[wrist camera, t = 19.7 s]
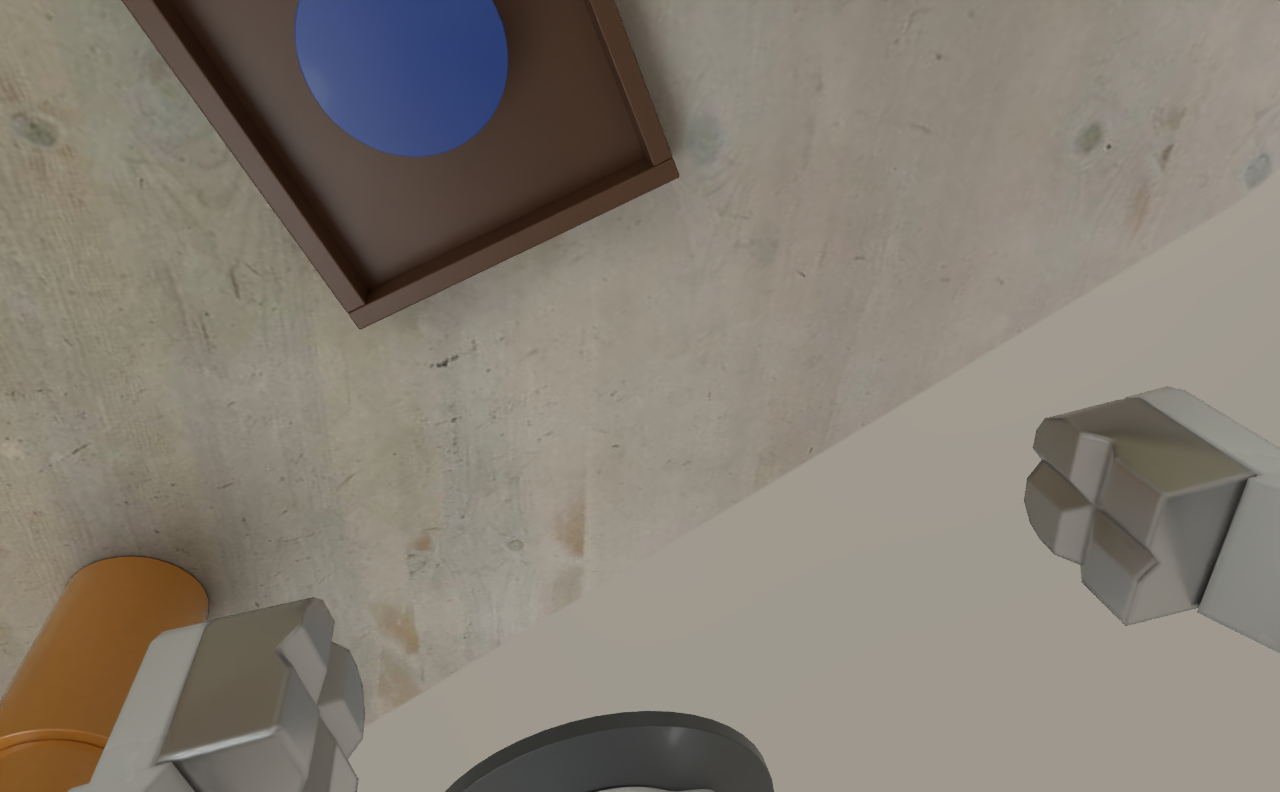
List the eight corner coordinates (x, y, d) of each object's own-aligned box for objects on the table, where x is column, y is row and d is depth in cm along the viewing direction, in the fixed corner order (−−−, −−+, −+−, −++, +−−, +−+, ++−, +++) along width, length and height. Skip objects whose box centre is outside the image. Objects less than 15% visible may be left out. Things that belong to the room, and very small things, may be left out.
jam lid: (332, -105, 23) (317, -109, 20) (526, -17, 26) (536, -11, 23) (293, 97, 26) (275, 117, 23) (473, 159, 28) (476, 184, 25)
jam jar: (236, 614, 37) (161, 862, 27) (129, 664, 38) (15, 929, 28) (148, 536, 34) (25, 787, 24) (30, 591, 34) (-139, 864, 24)
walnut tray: (666, 163, 30) (680, 177, 29) (364, 307, 31) (359, 330, 29) (478, -335, 22) (481, -358, 20) (60, -125, 22) (27, -129, 20)
